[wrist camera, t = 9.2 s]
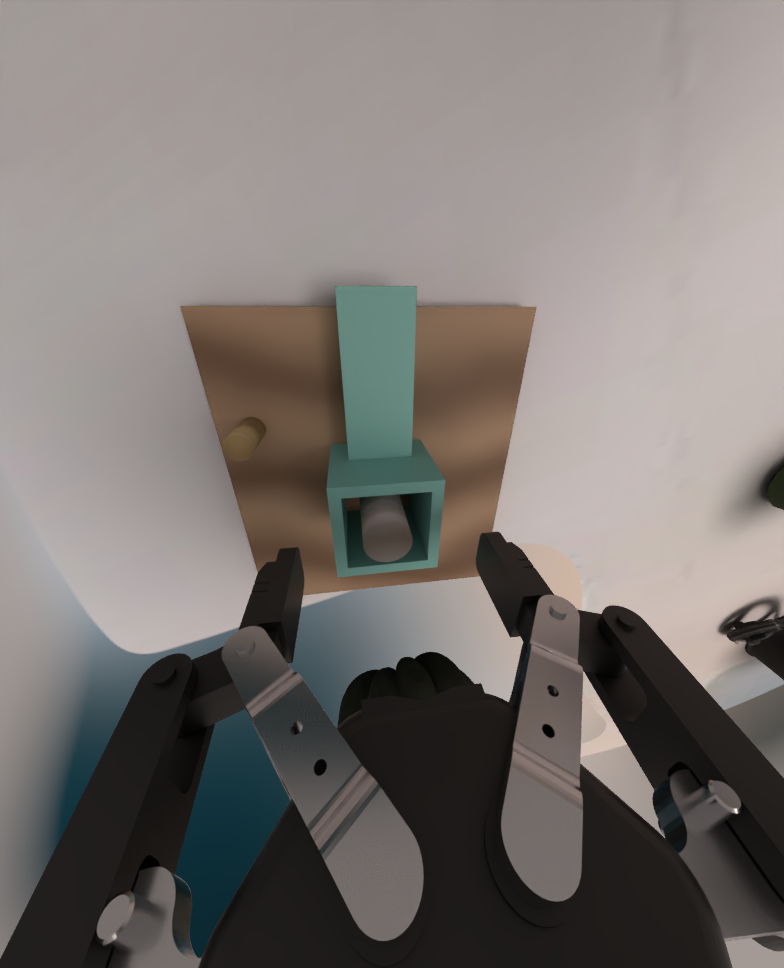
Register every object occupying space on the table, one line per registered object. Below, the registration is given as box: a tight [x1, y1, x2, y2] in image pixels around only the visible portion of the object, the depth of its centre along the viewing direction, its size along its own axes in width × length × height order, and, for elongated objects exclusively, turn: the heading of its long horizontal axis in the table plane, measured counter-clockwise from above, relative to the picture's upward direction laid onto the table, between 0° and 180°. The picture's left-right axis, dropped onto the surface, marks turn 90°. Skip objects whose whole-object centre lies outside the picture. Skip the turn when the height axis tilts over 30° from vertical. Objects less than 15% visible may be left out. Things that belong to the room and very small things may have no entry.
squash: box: [338, 652, 474, 726], centre depth 30 cm, size 14×15×15 cm
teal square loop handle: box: [326, 286, 445, 577], centre depth 16 cm, size 14×6×6 cm, turn 0°
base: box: [181, 306, 536, 595], centre depth 18 cm, size 20×18×8 cm
